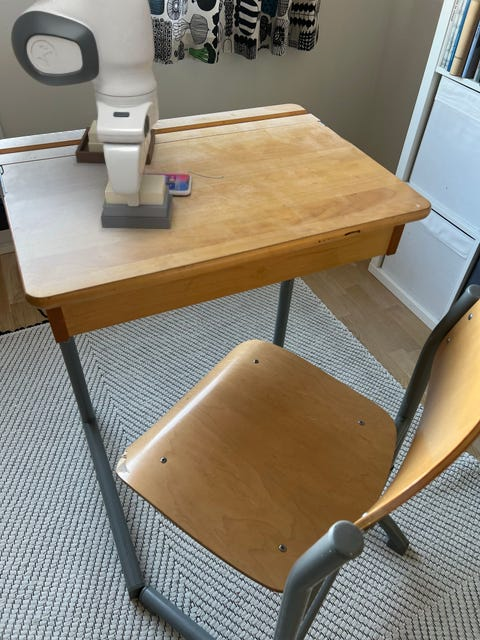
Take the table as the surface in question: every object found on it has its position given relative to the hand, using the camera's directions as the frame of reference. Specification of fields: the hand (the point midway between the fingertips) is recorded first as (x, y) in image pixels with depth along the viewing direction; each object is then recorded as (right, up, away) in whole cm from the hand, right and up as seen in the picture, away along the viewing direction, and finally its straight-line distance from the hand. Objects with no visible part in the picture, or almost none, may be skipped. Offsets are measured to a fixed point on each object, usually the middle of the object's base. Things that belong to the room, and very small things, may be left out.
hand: (136, 192), depth 84 cm
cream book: (0, 0, 0) cm, 0 cm away
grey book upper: (0, -2, +2) cm, 2 cm away
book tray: (-8, +14, +21) cm, 26 cm away
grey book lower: (0, -3, +3) cm, 4 cm away
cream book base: (-8, +14, +20) cm, 26 cm away
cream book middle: (-8, +16, +19) cm, 26 cm away
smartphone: (0, +4, +10) cm, 11 cm away
